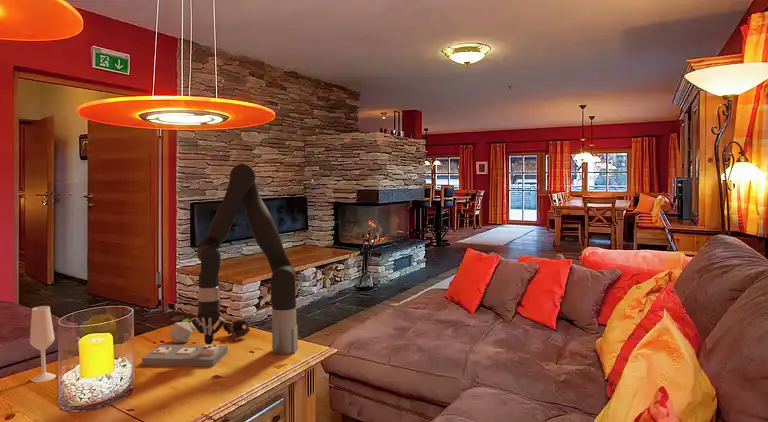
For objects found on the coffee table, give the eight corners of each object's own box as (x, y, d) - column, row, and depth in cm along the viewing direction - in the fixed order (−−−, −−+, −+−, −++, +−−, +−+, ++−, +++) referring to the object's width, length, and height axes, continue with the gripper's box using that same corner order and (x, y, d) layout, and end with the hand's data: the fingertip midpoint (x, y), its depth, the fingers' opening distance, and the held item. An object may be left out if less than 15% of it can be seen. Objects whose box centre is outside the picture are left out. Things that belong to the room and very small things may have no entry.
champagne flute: (61, 374, 163) (58, 305, 161) (43, 383, 156) (40, 311, 155) (44, 373, 164) (41, 304, 162) (26, 381, 157) (23, 310, 156)
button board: (227, 352, 185) (227, 345, 185) (213, 366, 171) (213, 359, 171) (162, 350, 186) (161, 344, 186) (142, 364, 172) (142, 358, 172)
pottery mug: (252, 333, 208) (254, 320, 204) (243, 350, 200) (244, 336, 196) (226, 326, 209) (227, 312, 205) (216, 342, 201) (216, 328, 197)
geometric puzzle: (172, 330, 204) (181, 316, 203) (182, 325, 211) (191, 312, 210) (183, 341, 204) (193, 327, 202) (193, 335, 210) (202, 322, 209)
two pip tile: (172, 355, 181) (172, 346, 181) (166, 360, 176) (165, 351, 176) (159, 355, 181) (159, 346, 181) (152, 360, 176) (152, 351, 176)
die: (181, 348, 191) (195, 326, 194) (162, 337, 191) (177, 315, 194) (185, 348, 199) (199, 327, 202) (167, 338, 199) (181, 317, 202)
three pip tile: (219, 352, 180) (219, 344, 180) (213, 357, 175) (213, 348, 175) (206, 352, 180) (206, 343, 180) (200, 357, 175) (200, 348, 175)
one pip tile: (195, 355, 181) (195, 347, 180) (190, 360, 176) (189, 352, 175) (183, 355, 181) (182, 347, 181) (176, 360, 176) (176, 351, 176)
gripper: (230, 296, 180) (230, 341, 181) (195, 295, 181) (196, 340, 182) (222, 301, 173) (222, 348, 174) (186, 300, 173) (186, 346, 174)
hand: (208, 344), depth 178 cm, fingers closed
